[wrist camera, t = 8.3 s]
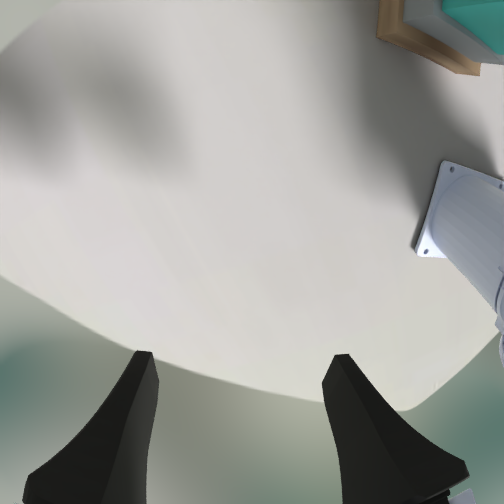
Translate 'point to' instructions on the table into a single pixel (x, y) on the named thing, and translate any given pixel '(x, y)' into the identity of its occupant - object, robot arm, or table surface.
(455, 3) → the teal block
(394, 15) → the walnut slab
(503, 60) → the slate slab
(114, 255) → the table surface
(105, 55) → the table surface
